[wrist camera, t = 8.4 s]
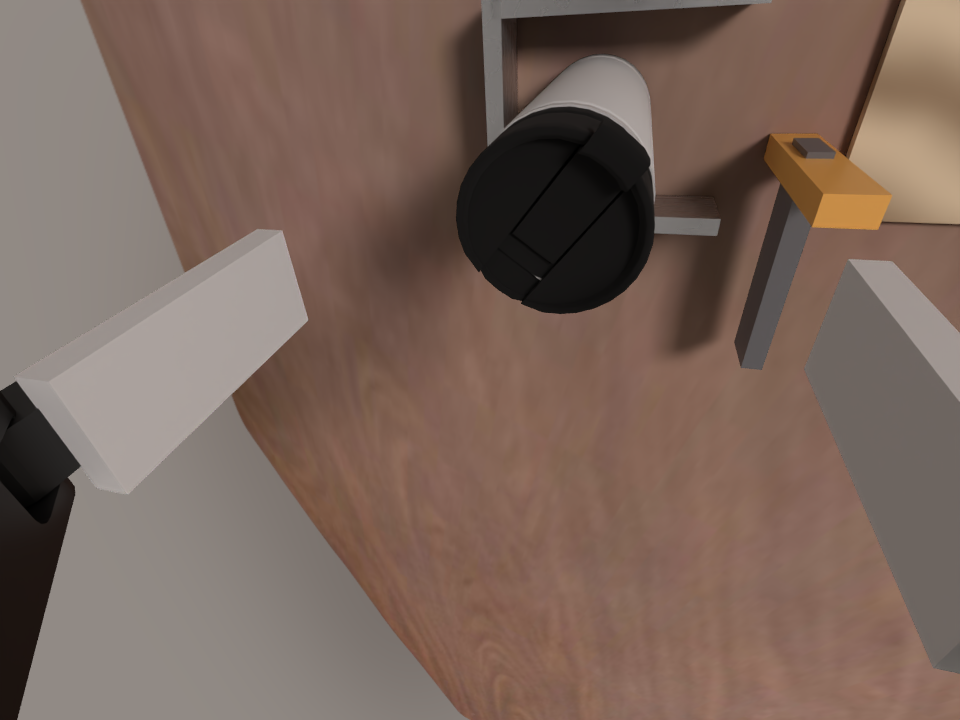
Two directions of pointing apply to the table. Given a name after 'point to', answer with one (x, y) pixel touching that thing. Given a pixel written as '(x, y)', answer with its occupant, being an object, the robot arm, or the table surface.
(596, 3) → the holder
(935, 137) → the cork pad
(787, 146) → the bar
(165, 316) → the robot arm
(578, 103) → the travel mug
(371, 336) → the table surface
